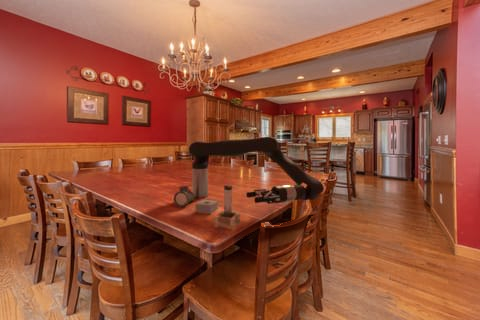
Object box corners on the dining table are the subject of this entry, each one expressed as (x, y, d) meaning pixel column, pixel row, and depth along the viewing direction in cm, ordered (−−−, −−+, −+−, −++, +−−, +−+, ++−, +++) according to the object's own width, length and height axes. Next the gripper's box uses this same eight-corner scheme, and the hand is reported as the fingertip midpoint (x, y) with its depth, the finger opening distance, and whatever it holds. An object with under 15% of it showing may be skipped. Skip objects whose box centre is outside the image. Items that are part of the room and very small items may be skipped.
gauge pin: (225, 222, 90) (225, 185, 88) (233, 223, 89) (233, 185, 87) (222, 225, 87) (222, 186, 85) (230, 226, 86) (230, 187, 84)
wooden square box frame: (222, 219, 93) (222, 210, 92) (240, 221, 90) (240, 212, 90) (214, 226, 85) (214, 217, 85) (233, 229, 83) (233, 219, 82)
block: (203, 207, 109) (203, 199, 109) (217, 208, 107) (217, 201, 106) (195, 212, 102) (195, 204, 101) (210, 214, 99) (210, 205, 99)
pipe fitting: (187, 207, 108) (186, 186, 108) (173, 207, 109) (172, 187, 110) (197, 202, 119) (196, 184, 120) (184, 203, 121) (183, 185, 121)
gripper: (275, 182, 102) (244, 185, 96) (292, 189, 89) (257, 192, 83) (275, 197, 103) (244, 201, 97) (292, 206, 90) (257, 211, 84)
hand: (250, 197), depth 90 cm, fingers open, 8 cm apart
